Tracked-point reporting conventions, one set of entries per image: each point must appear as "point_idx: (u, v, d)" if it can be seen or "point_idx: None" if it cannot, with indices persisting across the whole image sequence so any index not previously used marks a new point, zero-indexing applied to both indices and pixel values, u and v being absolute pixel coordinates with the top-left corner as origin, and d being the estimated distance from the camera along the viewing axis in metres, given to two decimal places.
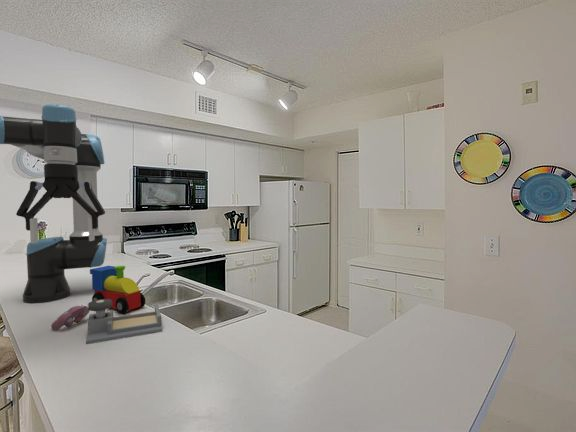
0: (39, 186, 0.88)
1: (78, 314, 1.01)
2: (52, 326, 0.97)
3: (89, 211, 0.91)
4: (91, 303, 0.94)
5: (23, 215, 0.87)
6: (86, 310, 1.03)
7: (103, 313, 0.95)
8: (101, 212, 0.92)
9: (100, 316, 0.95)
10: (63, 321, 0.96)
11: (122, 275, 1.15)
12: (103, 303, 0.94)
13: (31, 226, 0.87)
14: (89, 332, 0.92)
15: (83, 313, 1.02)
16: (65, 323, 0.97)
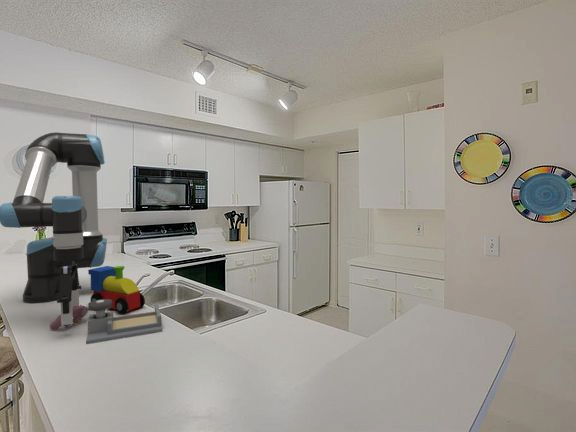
0: None
1: (77, 314, 1.01)
2: (51, 326, 0.97)
3: None
4: (91, 303, 0.94)
5: None
6: (85, 310, 1.03)
7: (103, 313, 0.95)
8: None
9: (100, 316, 0.95)
10: None
11: (121, 275, 1.15)
12: (103, 303, 0.94)
13: None
14: (89, 332, 0.92)
15: (82, 313, 1.02)
16: None
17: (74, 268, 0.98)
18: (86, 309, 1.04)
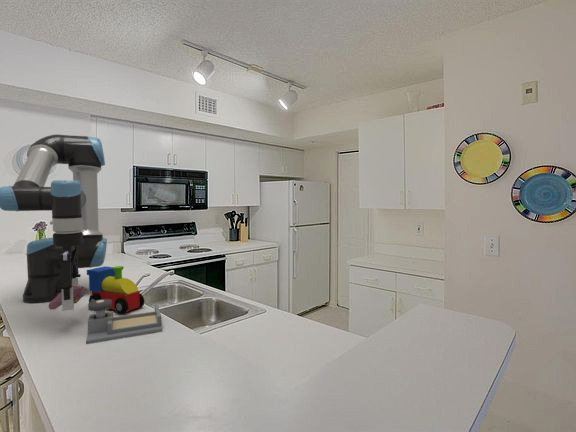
0: None
1: (75, 294, 1.01)
2: (49, 306, 0.96)
3: None
4: (91, 303, 0.94)
5: None
6: (83, 290, 1.03)
7: (103, 313, 0.95)
8: (59, 286, 0.92)
9: (100, 316, 0.95)
10: (60, 301, 0.95)
11: (120, 275, 1.15)
12: (103, 303, 0.94)
13: None
14: (89, 332, 0.92)
15: (80, 293, 1.02)
16: None
17: (74, 253, 0.98)
18: (85, 289, 1.03)
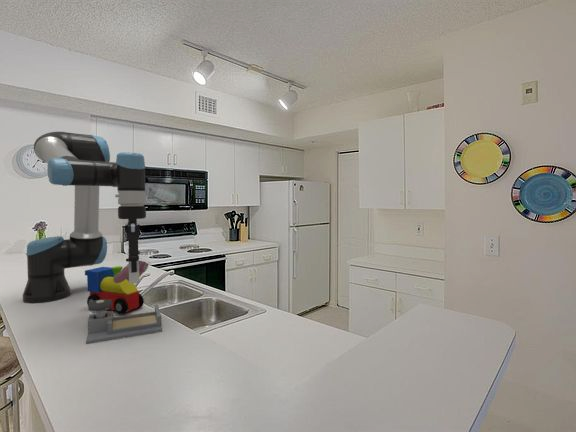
0: None
1: None
2: (115, 279, 0.95)
3: None
4: (91, 303, 0.94)
5: None
6: (145, 265, 1.01)
7: (103, 313, 0.95)
8: (128, 257, 0.91)
9: (100, 316, 0.95)
10: (127, 274, 0.94)
11: None
12: (103, 303, 0.94)
13: None
14: (89, 332, 0.92)
15: (143, 268, 1.00)
16: (128, 276, 0.95)
17: (138, 227, 0.97)
18: (146, 265, 1.02)
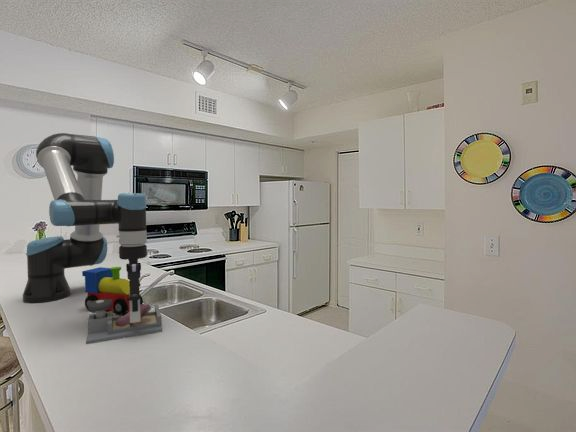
0: None
1: (141, 313, 1.00)
2: (117, 323, 0.95)
3: None
4: (91, 303, 0.94)
5: None
6: (148, 309, 1.02)
7: (103, 313, 0.95)
8: (129, 297, 0.90)
9: (100, 316, 0.95)
10: (129, 320, 0.94)
11: (118, 276, 1.14)
12: (103, 303, 0.94)
13: (129, 294, 1.05)
14: (89, 332, 0.92)
15: (145, 312, 1.01)
16: None
17: (139, 266, 0.98)
18: (149, 308, 1.02)
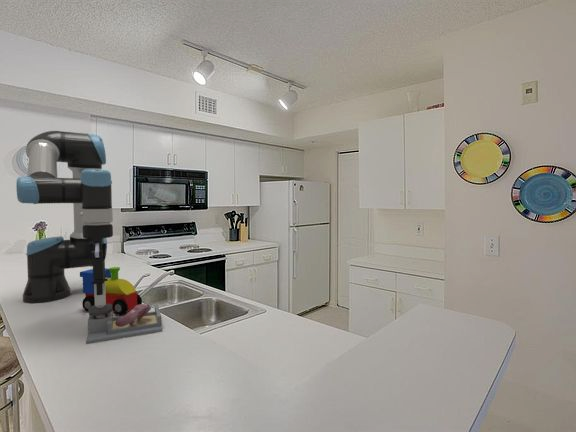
0: None
1: (141, 313, 1.00)
2: (117, 323, 0.95)
3: None
4: (91, 308, 0.94)
5: None
6: (148, 309, 1.02)
7: None
8: (93, 281, 0.92)
9: None
10: (129, 320, 0.94)
11: (117, 276, 1.13)
12: (103, 308, 0.94)
13: None
14: (89, 332, 0.92)
15: (145, 312, 1.01)
16: (131, 322, 0.95)
17: (104, 247, 0.94)
18: (149, 308, 1.02)
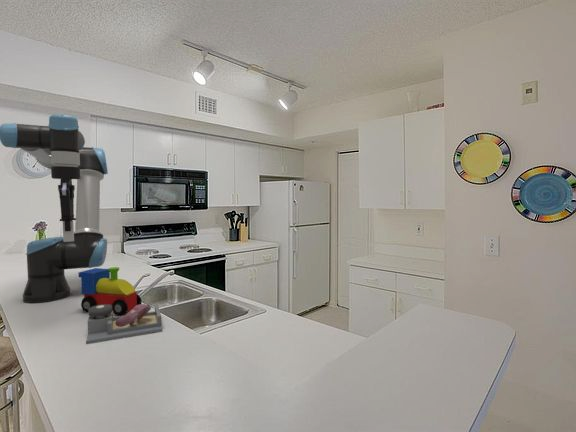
0: None
1: (141, 313, 1.00)
2: (117, 323, 0.95)
3: None
4: (91, 308, 0.94)
5: None
6: (148, 309, 1.02)
7: None
8: (61, 217, 1.01)
9: None
10: (129, 320, 0.94)
11: (116, 277, 1.13)
12: (103, 308, 0.94)
13: (63, 227, 1.04)
14: (89, 332, 0.92)
15: (145, 312, 1.01)
16: (131, 322, 0.95)
17: (71, 187, 1.02)
18: (149, 308, 1.02)
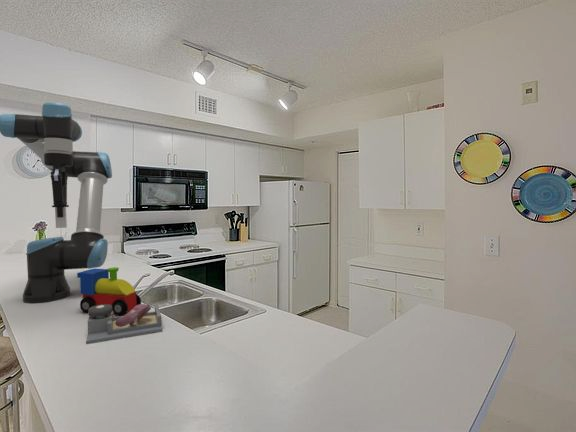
0: None
1: (141, 313, 1.00)
2: (117, 323, 0.95)
3: None
4: (91, 308, 0.94)
5: None
6: (148, 309, 1.02)
7: None
8: (53, 203, 1.02)
9: None
10: (129, 321, 0.94)
11: (116, 277, 1.13)
12: (103, 308, 0.94)
13: None
14: (89, 332, 0.92)
15: (145, 312, 1.01)
16: (131, 322, 0.95)
17: (64, 174, 1.04)
18: (149, 308, 1.02)
